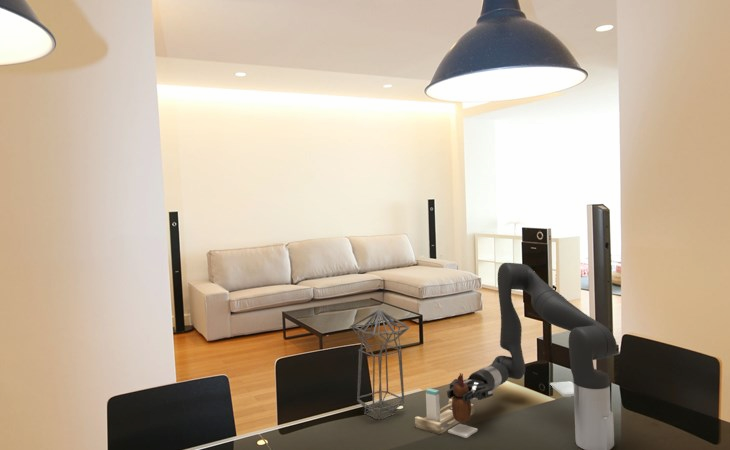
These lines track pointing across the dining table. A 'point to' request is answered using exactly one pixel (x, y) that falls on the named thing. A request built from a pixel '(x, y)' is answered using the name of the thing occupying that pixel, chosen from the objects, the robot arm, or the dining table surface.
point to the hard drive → (564, 388)
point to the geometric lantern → (380, 358)
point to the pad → (462, 430)
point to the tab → (433, 405)
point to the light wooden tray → (445, 420)
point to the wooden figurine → (460, 401)
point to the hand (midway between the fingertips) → (456, 396)
